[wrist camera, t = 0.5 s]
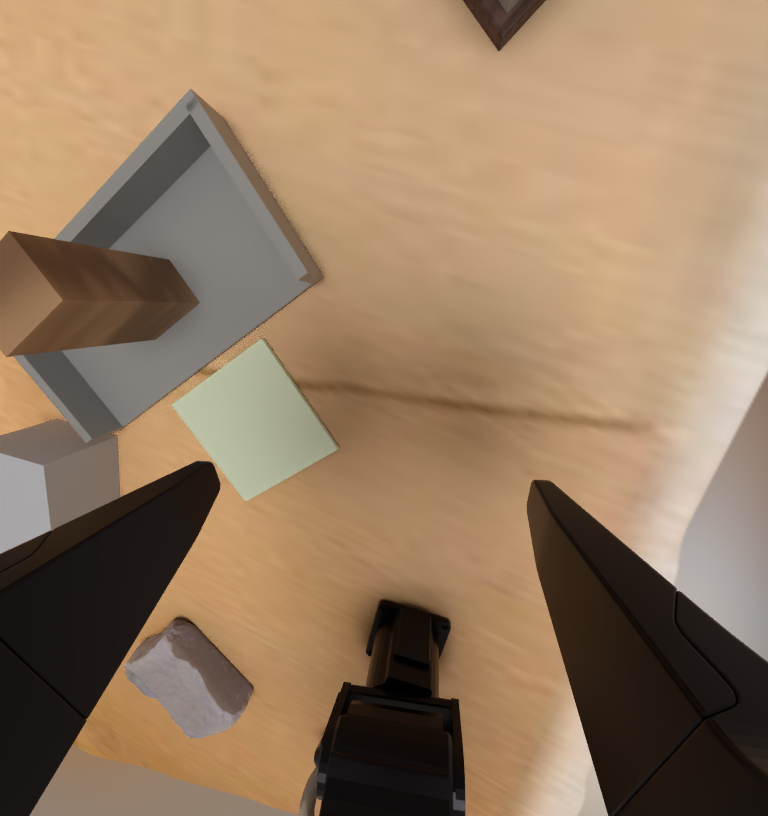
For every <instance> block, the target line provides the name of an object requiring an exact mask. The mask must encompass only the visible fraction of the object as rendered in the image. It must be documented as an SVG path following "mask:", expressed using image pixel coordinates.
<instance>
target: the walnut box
mask: <svg viewBox="0 0 768 816" xmlns="http://www.w3.org/2000/svg"><path fill="white" fill-rule="evenodd" d="M199 303H200V302H199V301H198V299H197V298H196V297H195V295H194V294H193V292H192V291H191V289H190V288H189V287H188V285H187V284H186V282H185V281H184V280H183V278H182V277H181V275H180V274H179V273H178V271H177V270H176V268H175V267H174V265H173V264H172V263H171V261H170V260H169V259H163V258H157V257H152V256H146V255H141V254H135V253H129V252H124V251H118V250H112V249H107V248H101V247H96V246H90V245H84V244H79V243H73V242H67V241H62V240H56V239H51V238H45V237H39V236H34V235H28V234H22V233H17V232H11V231H8V233H7V234H6V235H5V236H4V237H3V239H2V240H1V241H0V350H1V351H2V352H3V353H4V355H5V356H6V357H10V356H19V355H27V354H36V353H45V352H53V351H62V350H71V349H80V348H88V347H97V346H106V345H114V344H123V343H132V342H140V341H149V340H156V339H157V338H158V337H160V336H161V335H162V334H163V333H164V332H166V331H167V330H168V329H169V328H170V327H172V326H173V325H174V324H175V323H176V322H178V321H179V320H180V319H181V318H182V317H184V316H185V315H186V314H187V313H188V312H190V311H191V310H192V309H193V308H194V307H196V306H197V305H198V304H199Z"/></svg>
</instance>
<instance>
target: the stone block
mask: <svg viewBox="0 0 768 816" xmlns="http://www.w3.org/2000/svg"><path fill="white" fill-rule="evenodd" d="M124 668H125V669H126V670H125V673H126V675H127V678H128V680H129V681H131V682H132V683H134V684H135V686H136V687H137V688H138V689H139V690H140V691H141V692H142V693H143V694H144V695H146V696H148V697H151V698H157V699H158V701H159V702H160V703H161V704H162V706H163V707H164V708H165V709H166V710H167V711H168V712H169V713H170V715H171V717H172V719H173V720H174V721H175V722H176V724H177V725H178V726H179V727H181V729H182V730H183V732H184V734H186V735H187V736H189V737H190V738H202V739H203V738H204V737H206V736H208V735H215V734H217V733H219V732H223V731H225V730H227V729H228V728H230V727H231V726H233V725H234V724H235V723H236V721H237V720H238V719H239V717H240V716H241V714H242V713H243V711H244V710H245V708H246V706H247V704H248V701H249V698H250V696H251V694H252V689H253V687H252V685H251V683H250V682H249V681H248V680H247V679H246V678H245V677H244V676H243V675H242V674H241V673H240V672H239V671H238V670H237V669H236V668H235V667H234V665H233V664H232V663H231V662H230V661H229V660H228V659H227V658H226V657H225V656H224V655H223V654H222V653H221V652H220V651H219V650H218V649H217V648H216V647H215V646H214V645H213V644H212V643H211V642H210V641H209V640H208V638H207V637H206V636H205V635H204V634H203V633H202V632H201V631H200V630H199V629H198V628H197V627H196V626H194V625H192V624H191V623H189V622H187V621H186V620H184V619H182V618H179V619H177V620H173V621H172V622H171V623H170V624H169V626H168V627H167V629H166V630H165V631H164V632H163V633H160V634H156V635H154V636H152V637H150V638H148V639H147V640H145V641H144V642H143V643H142V644H141V645H140V646H139V647H138V648H137V649H136V650H135V651H134V653H133V654H132V656H131V657H130V659H129V660H128V661H127V663H126V665H125V667H124Z"/></svg>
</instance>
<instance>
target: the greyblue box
mask: <svg viewBox="0 0 768 816" xmlns="http://www.w3.org/2000/svg"><path fill="white" fill-rule="evenodd" d="M118 498H120V485H119V461H118V437H117V436H116V435H112V434H109V435H106V436H104V437H101V438H99V439H96V440H94V441H91V442H88V443H85V441H84V440H83V439H82V438H81V437H80V435H79V434H78V433H77V432H76V431H75V429H74V428H73V427H72V426H71V425H70V423H69V422H65V421H61V420H58V419H56V420H52V421H49V422H45V423H42V424H39V425H35V426H32V427H28V428H25V429H22V430H18V431H15V432H11V433H8V434H4V435H1V436H0V554H1V553H3V552H5V551H7V550H9V549H12V548H14V547H16V546H18V545H20V544H22V543H25V542H27V541H29V540H31V539H33V538H35V537H37V536H40V535H42V534H44V533H46V532H48V531H53V530H54V529H55V528H57V527H59V526H61V525H63V524H65V523H67V522H69V521H71V520H74V519H76V518H78V517H80V516H82V515H84V514H86V513H88V512H90V511H93V510H95V509H97V508H99V507H101V506H103V505H105V504H107V503H109V502H112V501H114V500H116V499H118Z"/></svg>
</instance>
